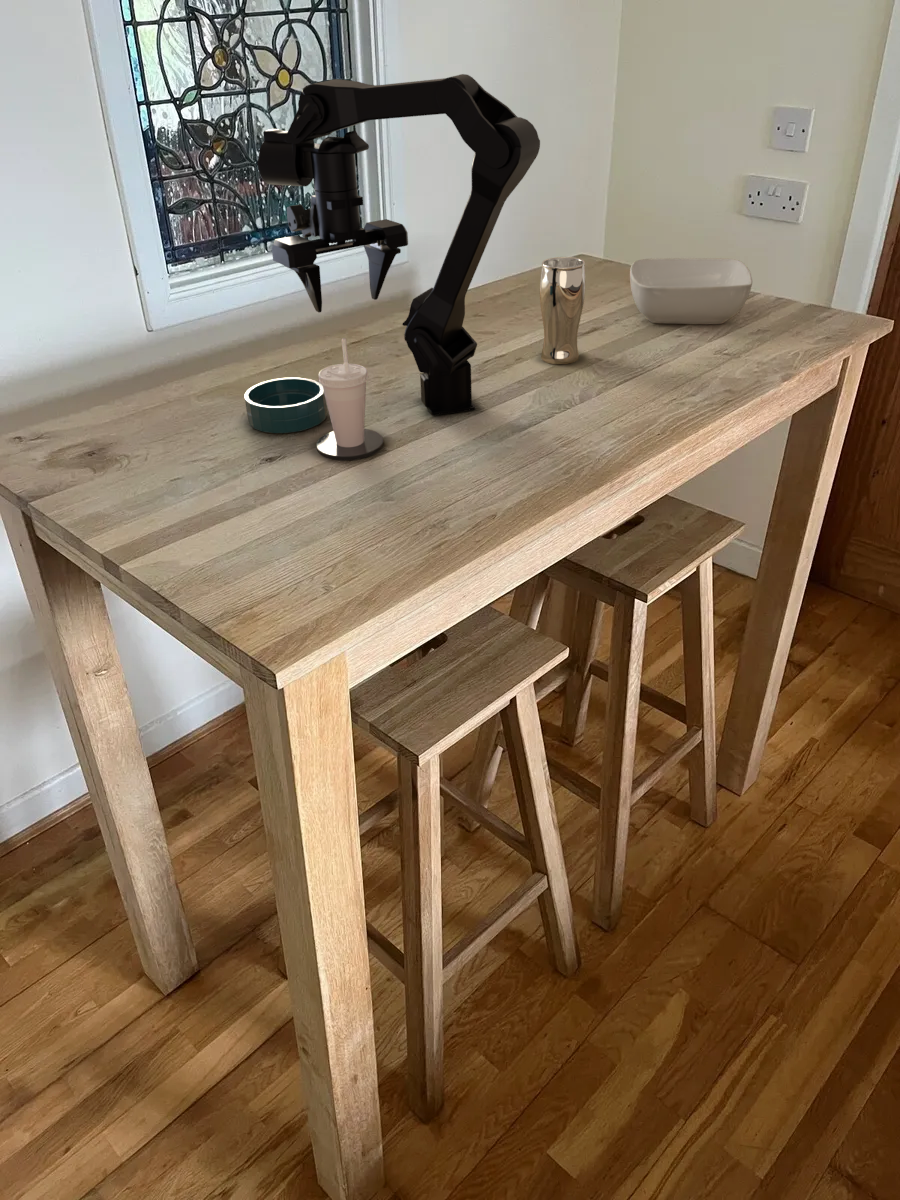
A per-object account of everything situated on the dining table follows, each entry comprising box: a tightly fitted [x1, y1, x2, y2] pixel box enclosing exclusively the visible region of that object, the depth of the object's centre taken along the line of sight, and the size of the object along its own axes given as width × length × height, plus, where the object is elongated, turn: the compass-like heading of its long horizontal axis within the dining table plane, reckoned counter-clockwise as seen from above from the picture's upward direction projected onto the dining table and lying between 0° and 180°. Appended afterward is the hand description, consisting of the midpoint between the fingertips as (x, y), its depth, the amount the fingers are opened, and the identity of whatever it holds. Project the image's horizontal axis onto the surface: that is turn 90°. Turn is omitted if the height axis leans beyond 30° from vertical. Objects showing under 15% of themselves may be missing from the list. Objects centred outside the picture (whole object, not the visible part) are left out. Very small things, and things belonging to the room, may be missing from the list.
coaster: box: [315, 428, 385, 461], centre depth 122 cm, size 9×9×1 cm
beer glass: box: [539, 256, 586, 365], centre depth 143 cm, size 7×7×15 cm
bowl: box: [629, 257, 753, 325], centre depth 162 cm, size 20×20×8 cm
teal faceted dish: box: [243, 377, 329, 434], centre depth 130 cm, size 11×11×4 cm
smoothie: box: [318, 337, 369, 447], centre depth 118 cm, size 6×6×14 cm
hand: (347, 305), depth 131 cm, fingers open, 9 cm apart
